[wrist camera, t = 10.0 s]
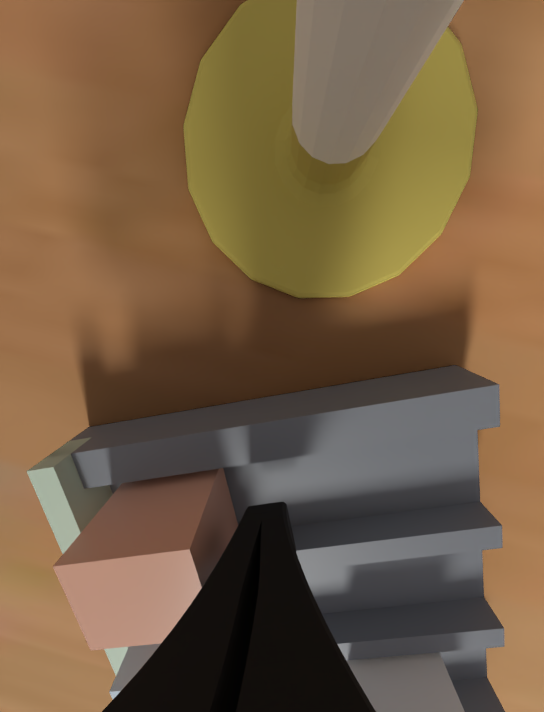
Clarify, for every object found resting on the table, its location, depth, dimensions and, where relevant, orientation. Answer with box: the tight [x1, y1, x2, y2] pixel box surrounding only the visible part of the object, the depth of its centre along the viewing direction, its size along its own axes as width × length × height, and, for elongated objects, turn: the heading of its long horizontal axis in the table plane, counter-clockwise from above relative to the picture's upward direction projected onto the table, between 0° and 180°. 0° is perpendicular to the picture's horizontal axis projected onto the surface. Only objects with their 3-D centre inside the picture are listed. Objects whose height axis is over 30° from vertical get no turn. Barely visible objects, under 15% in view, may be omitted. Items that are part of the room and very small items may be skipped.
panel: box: [27, 365, 505, 712], centre depth 13 cm, size 16×17×3 cm
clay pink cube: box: [53, 468, 238, 650], centre depth 10 cm, size 4×3×4 cm
